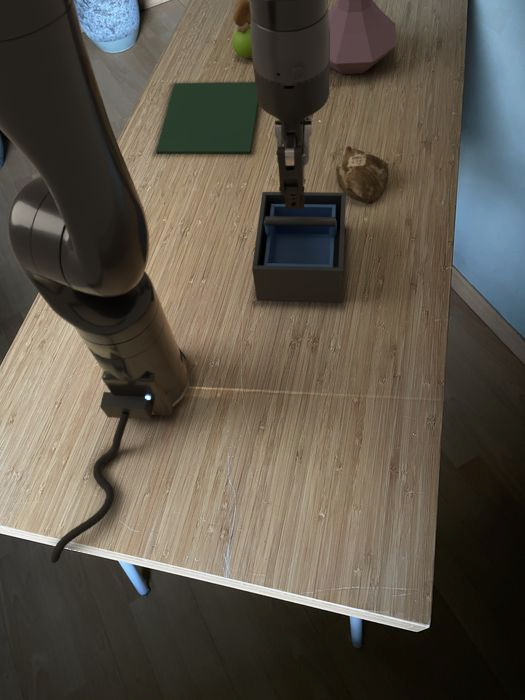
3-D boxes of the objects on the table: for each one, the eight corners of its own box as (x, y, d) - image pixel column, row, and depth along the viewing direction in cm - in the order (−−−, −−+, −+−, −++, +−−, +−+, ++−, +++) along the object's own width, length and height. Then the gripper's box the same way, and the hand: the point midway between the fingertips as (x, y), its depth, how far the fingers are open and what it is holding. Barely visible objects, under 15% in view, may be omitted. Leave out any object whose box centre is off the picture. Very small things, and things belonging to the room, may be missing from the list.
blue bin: (334, 294, 81) (335, 252, 73) (265, 292, 82) (259, 250, 74) (336, 233, 87) (338, 187, 79) (272, 232, 88) (267, 187, 80)
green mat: (250, 153, 98) (250, 151, 97) (156, 153, 99) (155, 151, 99) (261, 84, 107) (260, 81, 106) (174, 85, 108) (174, 83, 108)
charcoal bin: (341, 305, 81) (343, 271, 74) (257, 302, 82) (251, 268, 76) (344, 229, 88) (346, 192, 81) (266, 228, 89) (262, 191, 82)
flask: (326, 25, 114) (327, -94, 97) (409, 41, 109) (425, -82, 92) (292, 76, 107) (286, -42, 90) (379, 95, 102) (391, -26, 85)
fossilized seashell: (340, 145, 93) (321, 196, 90) (362, 123, 87) (342, 177, 84) (379, 168, 95) (362, 220, 92) (403, 148, 89) (385, 203, 86)
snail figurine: (271, 48, 112) (266, -18, 101) (252, 67, 109) (245, 1, 99) (247, 41, 114) (240, -25, 103) (228, 59, 111) (219, -6, 101)
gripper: (259, 13, 61) (271, 139, 75) (245, 104, 54) (261, 224, 68) (332, 11, 60) (330, 139, 74) (327, 103, 53) (326, 225, 67)
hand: (297, 180), depth 71 cm, fingers open, 8 cm apart
